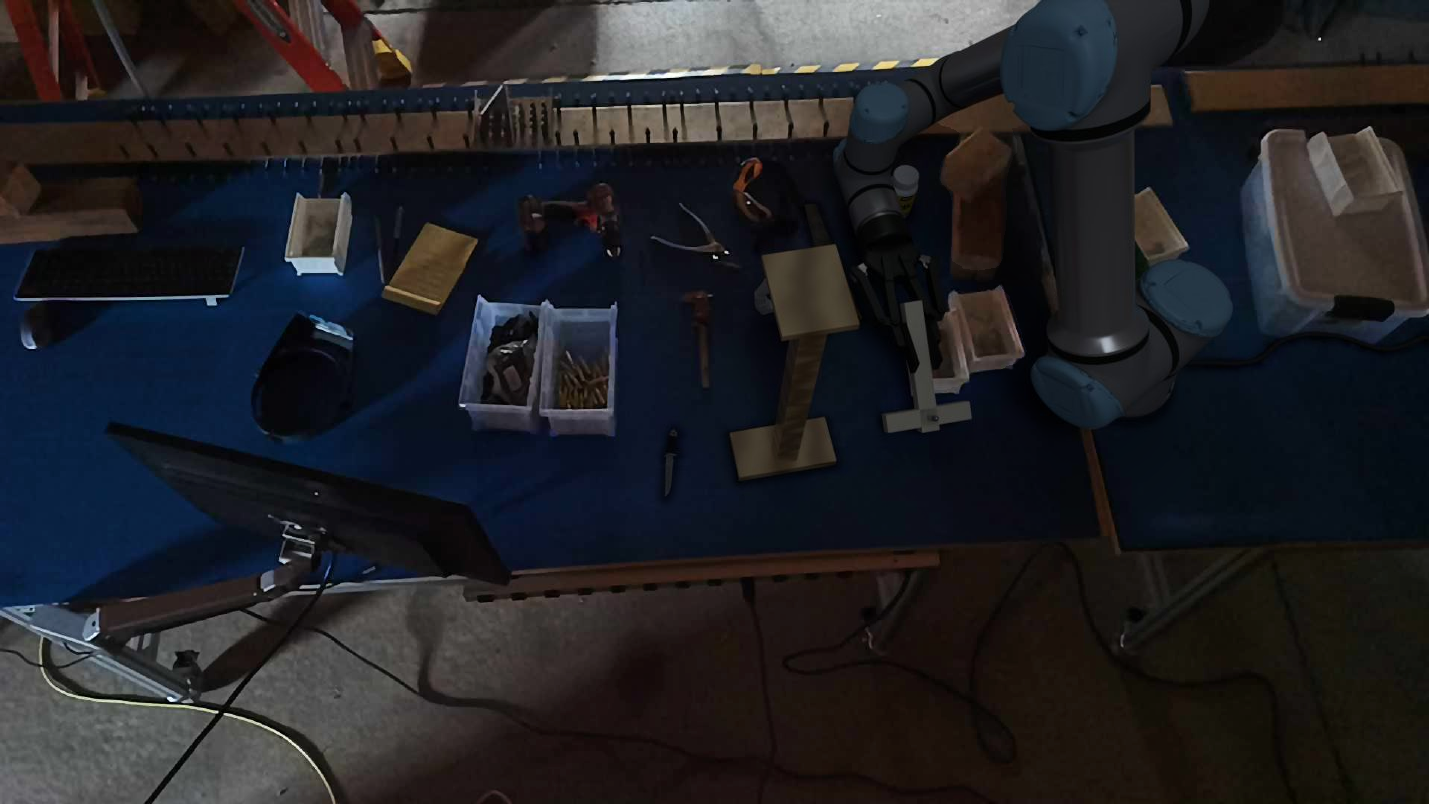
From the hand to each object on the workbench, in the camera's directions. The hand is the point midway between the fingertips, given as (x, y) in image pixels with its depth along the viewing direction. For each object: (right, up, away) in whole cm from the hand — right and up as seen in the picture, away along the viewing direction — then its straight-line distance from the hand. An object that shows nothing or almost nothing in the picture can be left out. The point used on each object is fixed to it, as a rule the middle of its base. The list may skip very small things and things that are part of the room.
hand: (926, 366), depth 116 cm
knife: (-35, -14, +6) cm, 38 cm away
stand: (-19, -11, +7) cm, 23 cm away
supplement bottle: (+1, +27, +26) cm, 38 cm away
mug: (-17, +8, +17) cm, 25 cm away
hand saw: (-10, +17, +21) cm, 29 cm away
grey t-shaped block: (0, 0, +4) cm, 4 cm away
